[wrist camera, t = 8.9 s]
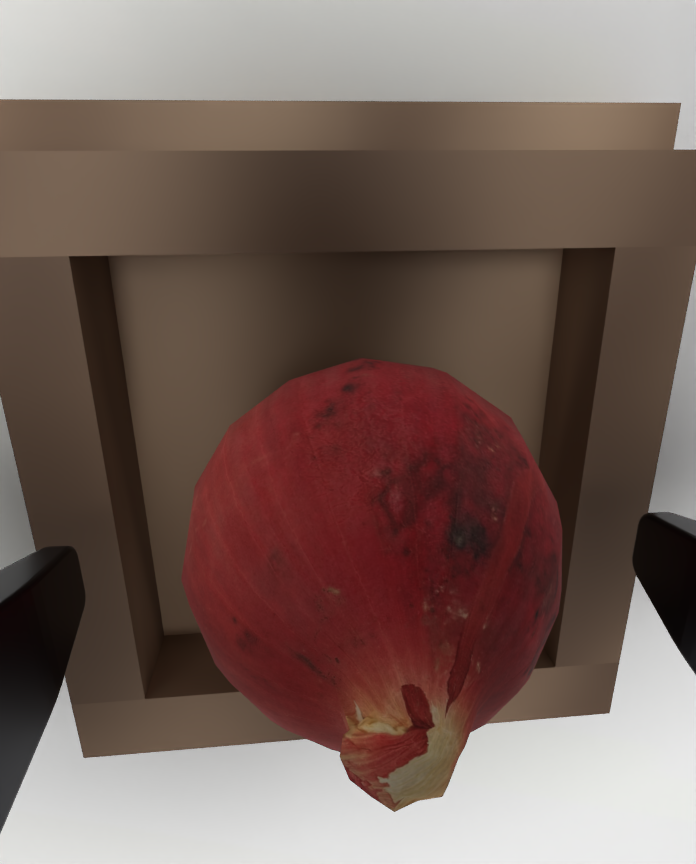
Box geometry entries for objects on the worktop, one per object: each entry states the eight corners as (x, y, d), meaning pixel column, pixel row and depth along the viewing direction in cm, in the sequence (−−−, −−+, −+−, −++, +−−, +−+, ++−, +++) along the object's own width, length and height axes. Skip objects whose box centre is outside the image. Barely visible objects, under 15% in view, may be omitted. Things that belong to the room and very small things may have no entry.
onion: (310, 268, 11) (348, 350, 4) (527, 415, 13) (852, 675, 5) (168, 496, 13) (-3, 878, 5) (380, 605, 14) (480, 1023, 7)
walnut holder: (651, 111, 12) (760, 79, 9) (567, 655, 17) (622, 743, 14) (-8, 109, 11) (-112, 71, 8) (108, 690, 16) (67, 792, 13)
